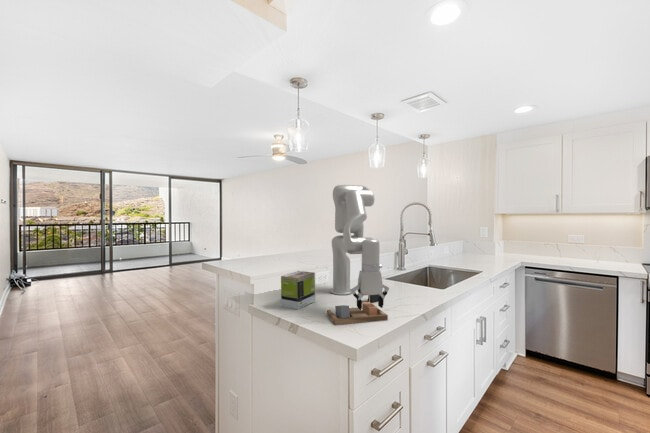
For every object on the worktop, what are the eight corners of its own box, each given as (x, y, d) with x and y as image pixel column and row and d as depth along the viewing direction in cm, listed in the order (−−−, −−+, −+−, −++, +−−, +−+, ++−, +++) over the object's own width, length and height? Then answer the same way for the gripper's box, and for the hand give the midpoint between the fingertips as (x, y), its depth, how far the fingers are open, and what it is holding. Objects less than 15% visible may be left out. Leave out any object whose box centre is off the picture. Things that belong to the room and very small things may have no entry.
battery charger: (375, 299, 153) (375, 276, 153) (380, 300, 150) (380, 278, 150) (365, 301, 149) (365, 278, 149) (370, 303, 146) (370, 279, 146)
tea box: (299, 298, 153) (299, 270, 153) (315, 301, 148) (315, 272, 148) (280, 306, 140) (280, 275, 140) (297, 310, 135) (297, 277, 135)
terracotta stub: (362, 312, 133) (362, 302, 133) (369, 312, 133) (369, 301, 133) (369, 318, 125) (369, 308, 125) (377, 318, 126) (377, 307, 126)
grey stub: (335, 317, 126) (335, 305, 127) (343, 316, 127) (342, 305, 128) (341, 318, 119) (340, 306, 120) (349, 317, 120) (348, 305, 121)
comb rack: (326, 314, 129) (326, 310, 129) (374, 310, 135) (374, 306, 135) (335, 325, 117) (335, 319, 117) (387, 320, 123) (387, 315, 123)
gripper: (384, 265, 134) (384, 303, 134) (348, 267, 130) (348, 306, 130) (392, 268, 127) (392, 309, 127) (354, 270, 122) (354, 312, 123)
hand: (370, 307), depth 128 cm, fingers open, 9 cm apart
